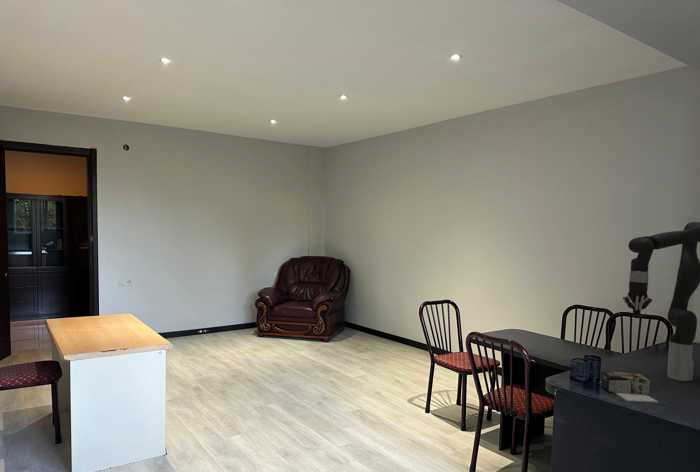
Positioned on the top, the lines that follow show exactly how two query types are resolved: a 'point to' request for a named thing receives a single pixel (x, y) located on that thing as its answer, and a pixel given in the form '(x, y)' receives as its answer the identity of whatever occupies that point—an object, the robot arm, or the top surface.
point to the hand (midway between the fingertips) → (636, 317)
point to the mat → (635, 397)
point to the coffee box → (625, 382)
